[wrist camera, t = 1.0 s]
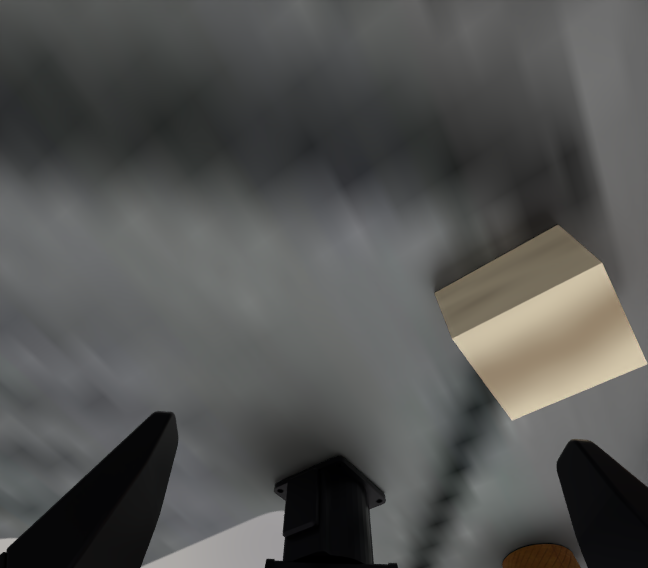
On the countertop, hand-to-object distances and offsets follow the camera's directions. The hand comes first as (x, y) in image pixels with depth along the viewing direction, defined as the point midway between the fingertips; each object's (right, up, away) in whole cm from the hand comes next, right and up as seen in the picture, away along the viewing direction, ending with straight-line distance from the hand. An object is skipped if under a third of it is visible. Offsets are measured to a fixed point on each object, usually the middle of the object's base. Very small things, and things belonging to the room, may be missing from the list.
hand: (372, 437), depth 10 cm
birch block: (+10, +2, +14) cm, 17 cm away
